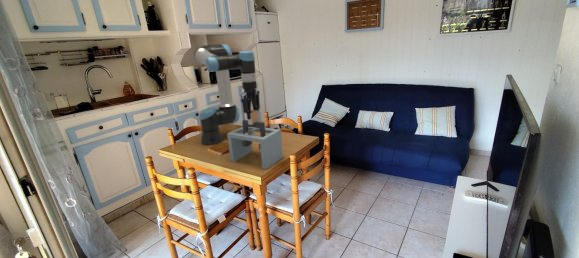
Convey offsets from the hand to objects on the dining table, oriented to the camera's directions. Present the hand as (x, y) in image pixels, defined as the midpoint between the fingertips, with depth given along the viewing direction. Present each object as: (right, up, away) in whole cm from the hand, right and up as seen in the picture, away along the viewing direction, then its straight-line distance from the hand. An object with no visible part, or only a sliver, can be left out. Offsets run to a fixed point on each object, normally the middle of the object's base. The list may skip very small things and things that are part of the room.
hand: (253, 123), depth 153 cm
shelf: (+1, -21, +7) cm, 22 cm away
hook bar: (0, -6, +2) cm, 6 cm away
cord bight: (+1, -13, +4) cm, 14 cm away
